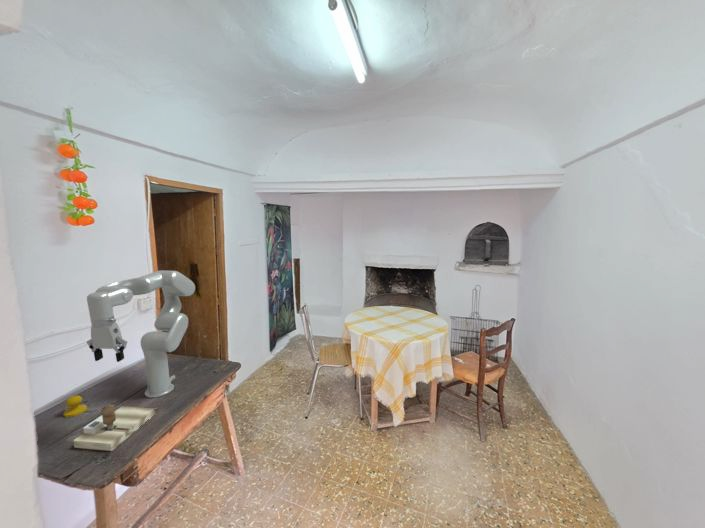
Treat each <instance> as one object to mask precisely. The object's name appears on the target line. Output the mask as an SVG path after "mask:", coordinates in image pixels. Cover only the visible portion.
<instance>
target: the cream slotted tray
mask: <svg viewBox="0 0 705 528" xmlns="http://www.w3.org/2000/svg"><path fill="white" fill-rule="evenodd" d="M155 412H156V411H155V408H153V407H150V408H149V407H139V406H138V407H136V406H124V405H121V406H120V407H119V408H118V409H116V410H115V417H116V420H115V421H114V422H113V424H114V429H113V430H111V431H107V425H106V426H105V427H103V428H102V429H101V430H99V431H98V432H97V433H95V434H85V433H84V432H83V433H82V434H80V435H79V436H77V437H76V438H75V439H74V440H72V441H73V447H74V449H75V448H77V449H85V450H86V449H87V450H88V449H89V450H96V451H97V450H98V451H108V452H109V451H110V452H112V451H113V450H115V449H116V448H117V447H118V446H119V445H121V444H122V443H123V442H124V441H125V440H127V439H128V438H129V437H130V436H132V435H133V434H134V433H135V432H136V431H137V430H138V429H140V428H141V427H142V426H143V425H144V424H146V423H147V422H148V421H149V420H151V419H152V418H153V417H154V416H155V415H156V413H155ZM154 414H155V415H154ZM153 415H154V416H153ZM152 416H153V417H152ZM151 417H152V418H151ZM148 419H149V420H148ZM147 420H148V421H147ZM146 421H147V422H146ZM145 422H146V423H145ZM141 425H142V426H141ZM140 426H141V427H140ZM139 427H140V428H139ZM134 431H135V432H134ZM133 432H134V433H133ZM132 433H133V434H132Z"/></svg>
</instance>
